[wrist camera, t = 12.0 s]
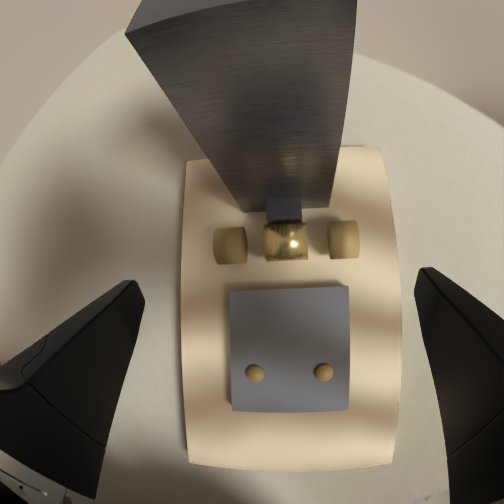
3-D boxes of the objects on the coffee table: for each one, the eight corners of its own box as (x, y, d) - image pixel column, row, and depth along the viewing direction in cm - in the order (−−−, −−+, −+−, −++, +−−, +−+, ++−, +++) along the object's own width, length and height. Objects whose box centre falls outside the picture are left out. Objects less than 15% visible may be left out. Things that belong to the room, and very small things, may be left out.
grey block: (333, 261, 17) (411, 103, 3) (243, 265, 18) (83, 145, 4) (323, 165, 19) (329, -43, 5) (243, 171, 20) (150, -14, 6)
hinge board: (387, 456, 15) (399, 478, 12) (194, 456, 18) (177, 476, 14) (376, 154, 19) (386, 129, 16) (192, 168, 22) (175, 146, 19)
